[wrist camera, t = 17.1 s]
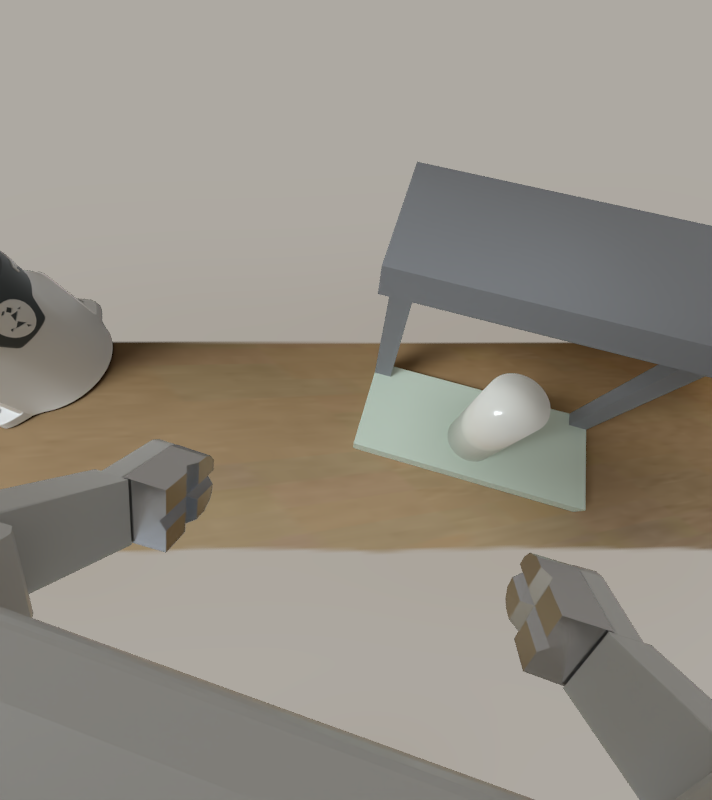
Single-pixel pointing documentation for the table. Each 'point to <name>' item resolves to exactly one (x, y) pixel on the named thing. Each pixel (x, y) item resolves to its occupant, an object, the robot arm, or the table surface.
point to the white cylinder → (499, 417)
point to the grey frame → (535, 315)
